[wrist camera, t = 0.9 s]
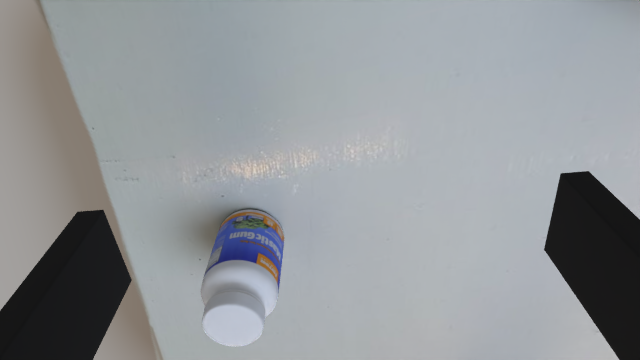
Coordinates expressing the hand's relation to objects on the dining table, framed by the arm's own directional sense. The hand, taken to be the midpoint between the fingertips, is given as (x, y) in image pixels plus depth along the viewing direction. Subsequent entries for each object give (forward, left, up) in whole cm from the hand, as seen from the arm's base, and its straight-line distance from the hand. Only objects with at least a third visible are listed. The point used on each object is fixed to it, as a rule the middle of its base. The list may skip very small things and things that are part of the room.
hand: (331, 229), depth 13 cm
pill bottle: (+11, -12, -19) cm, 25 cm away
